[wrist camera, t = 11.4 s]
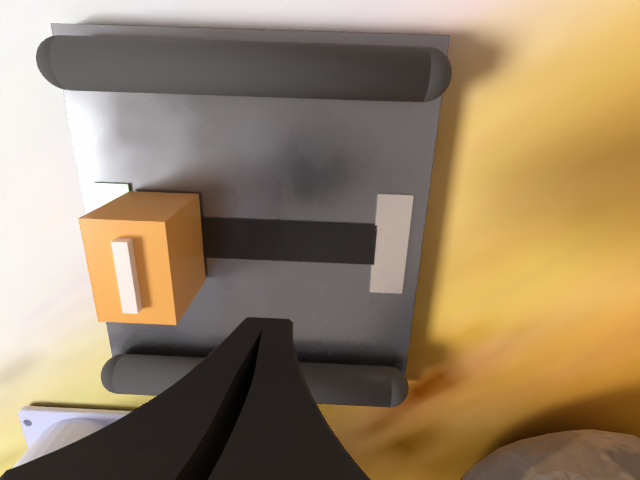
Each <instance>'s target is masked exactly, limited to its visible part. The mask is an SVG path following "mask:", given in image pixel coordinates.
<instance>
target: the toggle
mask: <svg viewBox="0 0 640 480" xmlns="http://www.w3.org/2000/svg"><path fill="white" fill-rule="evenodd" d="M78 219H79V225H80V230H81V235H82V240H83V245H84V250H85V256H86V261H87V266H88V271H89V276H90V281H91V287H92V292H93V297H94V302H95V307H96V312H97V318H98V322H120V323H141V324H163V325H177V324H178V322H179V320H180V319H181V317H182V316H183V314H184V313H185V311H186V310H187V308H188V307H189V305H190V304H191V302H192V300H193V299H194V297H195V296H196V294H197V293H198V291H199V290H200V288H201V287H202V285H203V284H204V282H205V281H206V278H205V265H204V252H203V240H202V227H201V214H200V202H199V194H190V193H164V192H139V191H129V192H127V193H125V194H123V195H121V196H119V197H118V198H116V199H114V200H112V201H110V202H108V203H106V204H104V205H103V206H101V207H99V208H97V209H95V210H93V211H91V212H89V213H88V214H86V215H84V216H82V217H80V218H78Z"/></svg>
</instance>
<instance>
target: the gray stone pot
mask: <svg viewBox="0 0 640 480" xmlns="http://www.w3.org/2000/svg"><path fill="white" fill-rule="evenodd" d="M461 480H640V438H639V437H637V436H635V435H631V434H624V433H616V432H609V431H601V430H594V429H585V430H571V431H562V432H554V433H548V434H544V435H540V436H535V437H531V438H526V439H522V440H518V441H516V442H513V443H510V444H508V445H505V446H503V447H500V448H498V449H497V450H495V451H494V452H492V453H491V454H489V455H488V456H486V457H485V458H483V459H482V460H480V461H479V462H477V463H476V464H475V465H473V466H472V467H471V468H470V469H469V470H468V471H467V472H466V473H465V475H464V476H463V477H462V479H461Z"/></svg>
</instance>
